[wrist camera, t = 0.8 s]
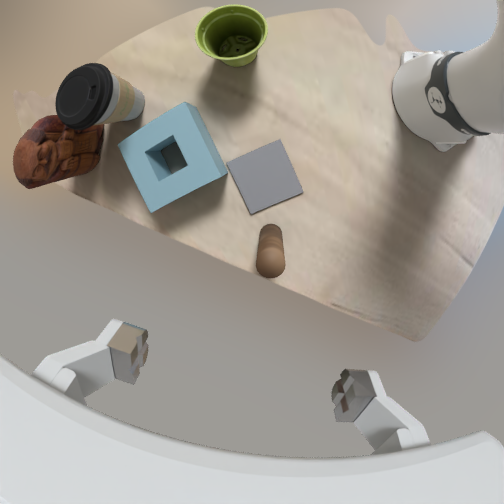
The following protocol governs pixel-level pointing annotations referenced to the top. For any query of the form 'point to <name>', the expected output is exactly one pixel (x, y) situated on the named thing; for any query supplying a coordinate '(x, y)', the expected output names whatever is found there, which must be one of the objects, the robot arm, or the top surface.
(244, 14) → the plant pot
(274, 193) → the pad
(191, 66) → the top surface
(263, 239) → the peg
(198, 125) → the socket
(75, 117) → the coffee cup
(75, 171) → the wooden figurine
